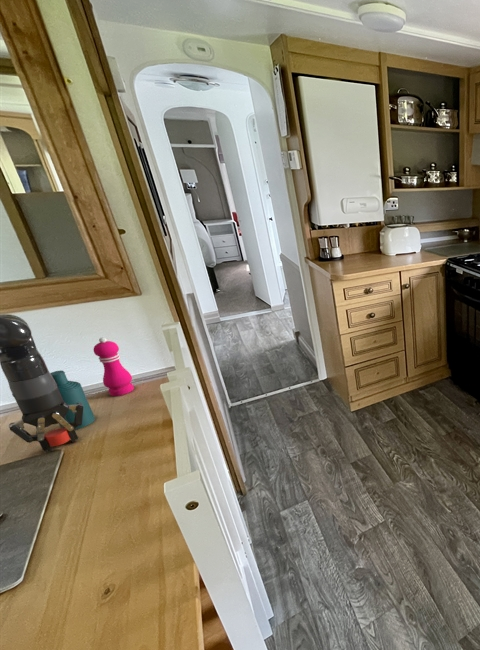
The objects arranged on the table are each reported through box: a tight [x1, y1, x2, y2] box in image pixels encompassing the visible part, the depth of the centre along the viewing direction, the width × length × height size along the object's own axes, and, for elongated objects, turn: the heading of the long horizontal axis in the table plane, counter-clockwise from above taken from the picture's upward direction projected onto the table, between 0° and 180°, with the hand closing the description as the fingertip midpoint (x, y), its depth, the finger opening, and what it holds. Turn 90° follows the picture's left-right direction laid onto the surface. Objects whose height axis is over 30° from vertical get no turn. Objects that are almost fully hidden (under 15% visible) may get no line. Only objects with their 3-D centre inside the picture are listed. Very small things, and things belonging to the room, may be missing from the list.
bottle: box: [50, 370, 96, 431], centre depth 108 cm, size 7×7×17 cm
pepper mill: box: [93, 337, 135, 397], centre depth 125 cm, size 7×7×20 cm
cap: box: [44, 427, 71, 447], centre depth 101 cm, size 4×4×3 cm
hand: (61, 445), depth 102 cm, fingers closed on cap, 4 cm apart
